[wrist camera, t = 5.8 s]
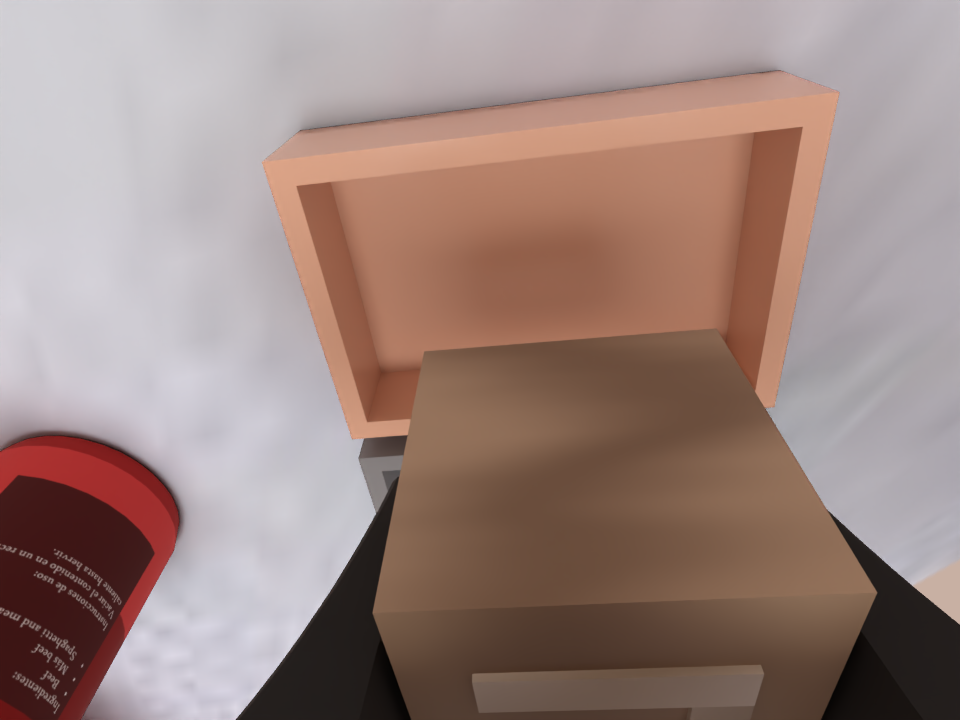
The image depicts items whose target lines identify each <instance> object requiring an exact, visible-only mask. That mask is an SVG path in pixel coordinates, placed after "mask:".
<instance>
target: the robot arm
mask: <svg viewBox="0 0 960 720" xmlns="http://www.w3.org/2000/svg"><path fill="white" fill-rule="evenodd" d="M398 481H399V477H397V478H396V479H395V480H394V481H393V482H392V484H391V486H390V488H389V490H388V492H387V494H386V496H385V498H384V500H383V502H382V504H381V506H380V508H379V510H378V511H377V513H376V515H375V517H374V519H373V521H372V522H371V524H370V526H369V528H368V530H367V531H366V533H365V535H364V537H363V538H362V540H361V542H360V544H359V545H358V547H357V549H356V550H355V552H354V554H353V555H352V557H351V559H350V560H349V562H348V564H347V565H346V567H345V569H344V570H343V572H342V573H341V575H340V577H339V578H338V580H337V582H336V583H335V585H334V586H333V588H332V590H331V591H330V593H329V594H328V596H327V597H326V599H325V600H324V602H323V603H322V605H321V606H320V608H319V609H318V611H317V612H316V613H315V615H314V616H313V618H312V619H311V621H310V622H309V624H308V625H307V627H306V628H305V630H304V631H303V633H302V634H301V636H300V637H299V638H298V640H297V641H296V643H295V644H294V645H293V647H292V648H291V650H290V651H289V652H288V654H287V655H286V656H285V658H284V659H283V661H282V662H281V663H280V665H279V666H278V667H277V669H276V670H275V671H274V673H273V674H272V675H271V676H270V678H269V679H268V680H267V681H266V683H265V684H264V685H263V687H262V688H261V689H260V690H259V692H258V693H257V694H256V696H255V697H254V698H253V699H252V701H251V702H250V703H249V704H248V706H247V707H246V708H245V709H244V710H243V712H242V713H241V714H240V715H239V716H238V718H237V719H236V720H411V718H410V715H409V712H408V709H407V707H406V704H405V701H404V698H403V696H402V693H401V690H400V687H399V685H398V682H397V679H396V676H395V674H394V671H393V668H392V665H391V663H390V660H389V657H388V654H387V652H386V649H385V646H384V643H383V641H382V638H381V635H380V632H379V630H378V627H377V624H376V621H375V619H374V616H373V608H374V603H375V598H376V593H377V588H378V583H379V578H380V573H381V567H382V562H383V557H384V552H385V547H386V542H387V537H388V532H389V527H390V522H391V517H392V512H393V507H394V502H395V497H396V491H397V486H398ZM827 511H828V510H827ZM828 512H829V511H828ZM829 514H830V516H831V517H832V519H833V521H834V522H835V524H836V526H837V527H838V529H839V531H840V532H841V534H842V535H843V537H844V539H845V540H846V542H847V544H848V545H849V547H850V549H851V550H852V552H853V554H854V555H855V557H856V558H857V560H858V562H859V563H860V565H861V567H862V568H863V570H864V572H865V573H866V575H867V577H868V578H869V580H870V581H871V583H872V585H873V586H874V588H875V590H876V591H877V594H876V597H875V599H874V601H873V603H872V606H871V608H870V610H869V612H868V615H867V617H866V619H865V621H864V624H863V626H862V628H861V630H860V633H859V635H858V637H857V639H856V642H855V644H854V646H853V648H852V651H851V653H850V655H849V657H848V660H847V662H846V664H845V666H844V669H843V671H842V673H841V675H840V678H839V680H838V682H837V684H836V687H835V689H834V691H833V693H832V696H831V698H830V700H829V702H828V705H827V707H826V709H825V711H824V714H823V716H822V718H821V720H960V625H959V624H958V623H957V622H956V621H955V620H953V619H952V618H951V617H949V616H948V615H947V614H946V613H944V612H943V611H942V610H941V609H940V608H938V607H937V606H936V605H935V604H934V603H932V602H931V601H930V600H929V599H928V598H926V597H925V596H924V595H923V594H922V593H920V592H919V591H918V590H917V589H915V588H914V587H913V586H912V585H911V584H910V583H908V582H907V581H906V580H905V579H904V578H903V577H901V576H900V575H899V574H898V573H897V572H896V571H894V570H893V569H892V568H891V567H890V566H889V565H888V564H886V563H885V562H884V561H883V560H882V559H881V558H880V557H879V556H877V555H876V554H875V553H874V552H873V551H872V550H871V549H870V548H868V547H867V546H866V545H865V544H864V543H863V542H862V541H861V540H859V539H858V538H857V537H856V536H855V535H854V534H853V533H852V532H851V531H849V530H848V529H847V528H846V527H845V526H844V525H843V524H842V523H841V522H840V521H839V520H838V519H836V518H835V517H834V516H833V515H832V514H831V513H830V512H829Z"/></svg>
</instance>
